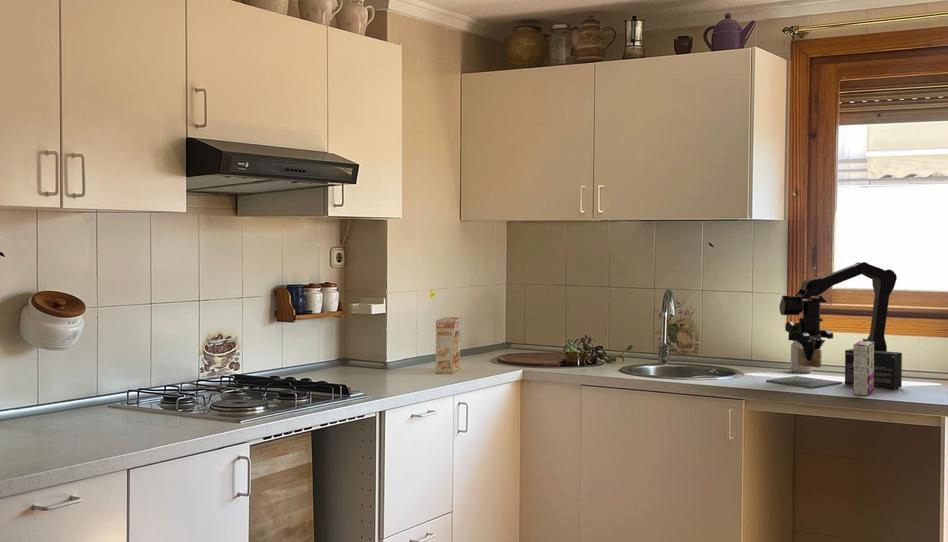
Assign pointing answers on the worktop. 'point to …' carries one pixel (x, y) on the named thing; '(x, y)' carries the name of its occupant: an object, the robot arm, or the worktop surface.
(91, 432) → the worktop surface
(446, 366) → the coffeecake box
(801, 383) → the mat
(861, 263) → the robot arm
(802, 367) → the can
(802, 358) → the tile
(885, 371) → the box
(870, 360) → the candy bar box
